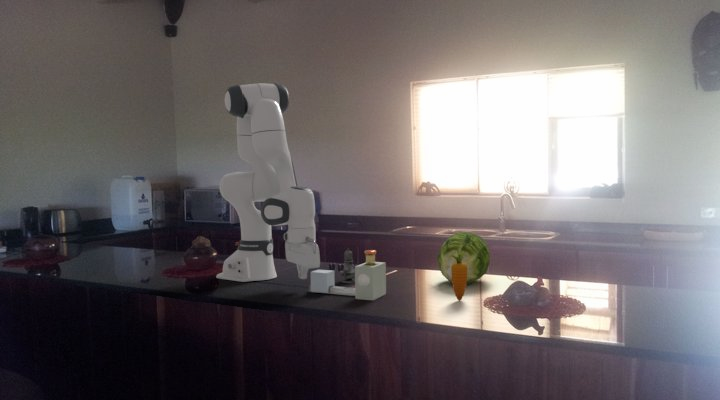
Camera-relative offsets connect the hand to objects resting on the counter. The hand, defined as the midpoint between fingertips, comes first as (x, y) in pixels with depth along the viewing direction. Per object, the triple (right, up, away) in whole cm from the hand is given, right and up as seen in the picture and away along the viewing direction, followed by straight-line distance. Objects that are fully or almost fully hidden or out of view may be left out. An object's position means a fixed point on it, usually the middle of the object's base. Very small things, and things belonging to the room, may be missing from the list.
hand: (302, 278), depth 194 cm
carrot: (+48, -5, -17) cm, 51 cm away
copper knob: (+22, +4, -10) cm, 24 cm away
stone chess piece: (+15, -3, +15) cm, 21 cm away
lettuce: (+54, -3, +9) cm, 55 cm away
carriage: (+7, -4, -2) cm, 8 cm away
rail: (+11, -4, -5) cm, 13 cm away
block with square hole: (+22, -4, -9) cm, 24 cm away
